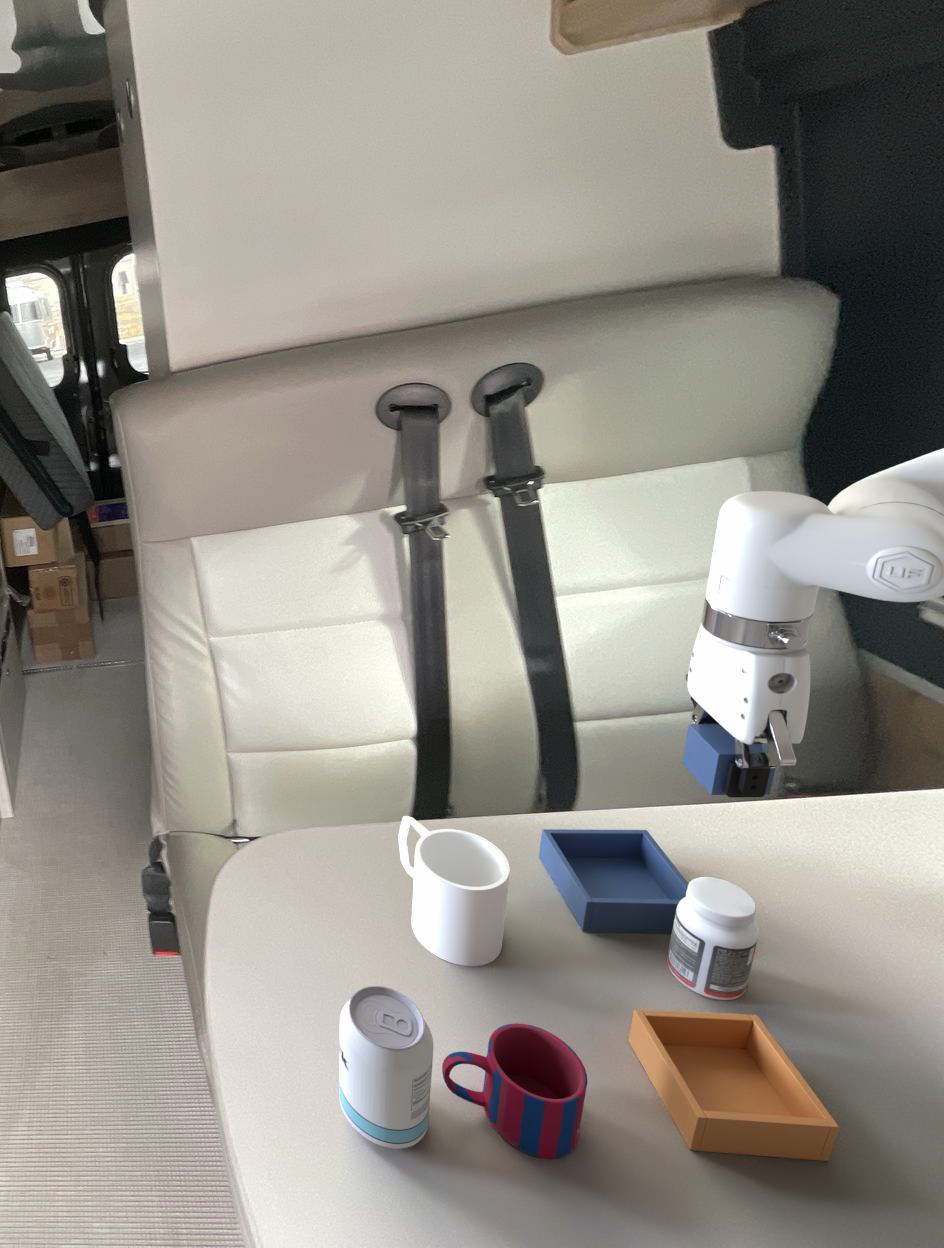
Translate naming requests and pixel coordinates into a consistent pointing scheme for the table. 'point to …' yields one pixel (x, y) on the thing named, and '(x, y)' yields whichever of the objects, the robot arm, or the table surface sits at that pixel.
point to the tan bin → (731, 1085)
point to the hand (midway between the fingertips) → (725, 774)
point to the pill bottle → (714, 939)
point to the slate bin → (614, 879)
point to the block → (713, 756)
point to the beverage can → (385, 1067)
